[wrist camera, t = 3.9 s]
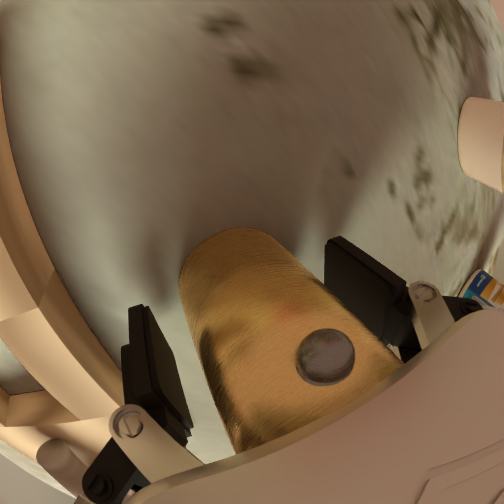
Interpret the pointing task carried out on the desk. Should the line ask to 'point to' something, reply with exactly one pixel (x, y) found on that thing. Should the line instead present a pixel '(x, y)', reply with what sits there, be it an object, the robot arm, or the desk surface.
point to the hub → (273, 338)
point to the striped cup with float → (482, 141)
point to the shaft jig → (48, 349)
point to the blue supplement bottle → (484, 290)
